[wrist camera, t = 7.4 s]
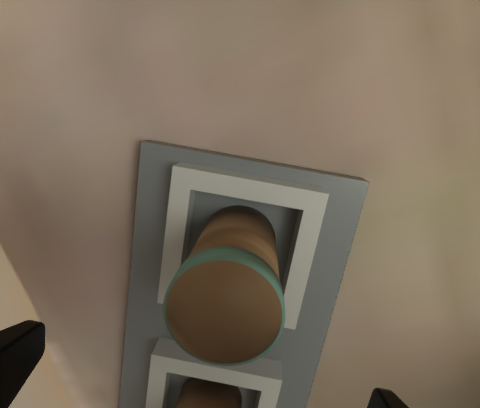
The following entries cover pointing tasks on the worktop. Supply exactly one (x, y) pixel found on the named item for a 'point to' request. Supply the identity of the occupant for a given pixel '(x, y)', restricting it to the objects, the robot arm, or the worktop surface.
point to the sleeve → (228, 291)
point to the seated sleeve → (208, 395)
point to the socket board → (289, 265)
